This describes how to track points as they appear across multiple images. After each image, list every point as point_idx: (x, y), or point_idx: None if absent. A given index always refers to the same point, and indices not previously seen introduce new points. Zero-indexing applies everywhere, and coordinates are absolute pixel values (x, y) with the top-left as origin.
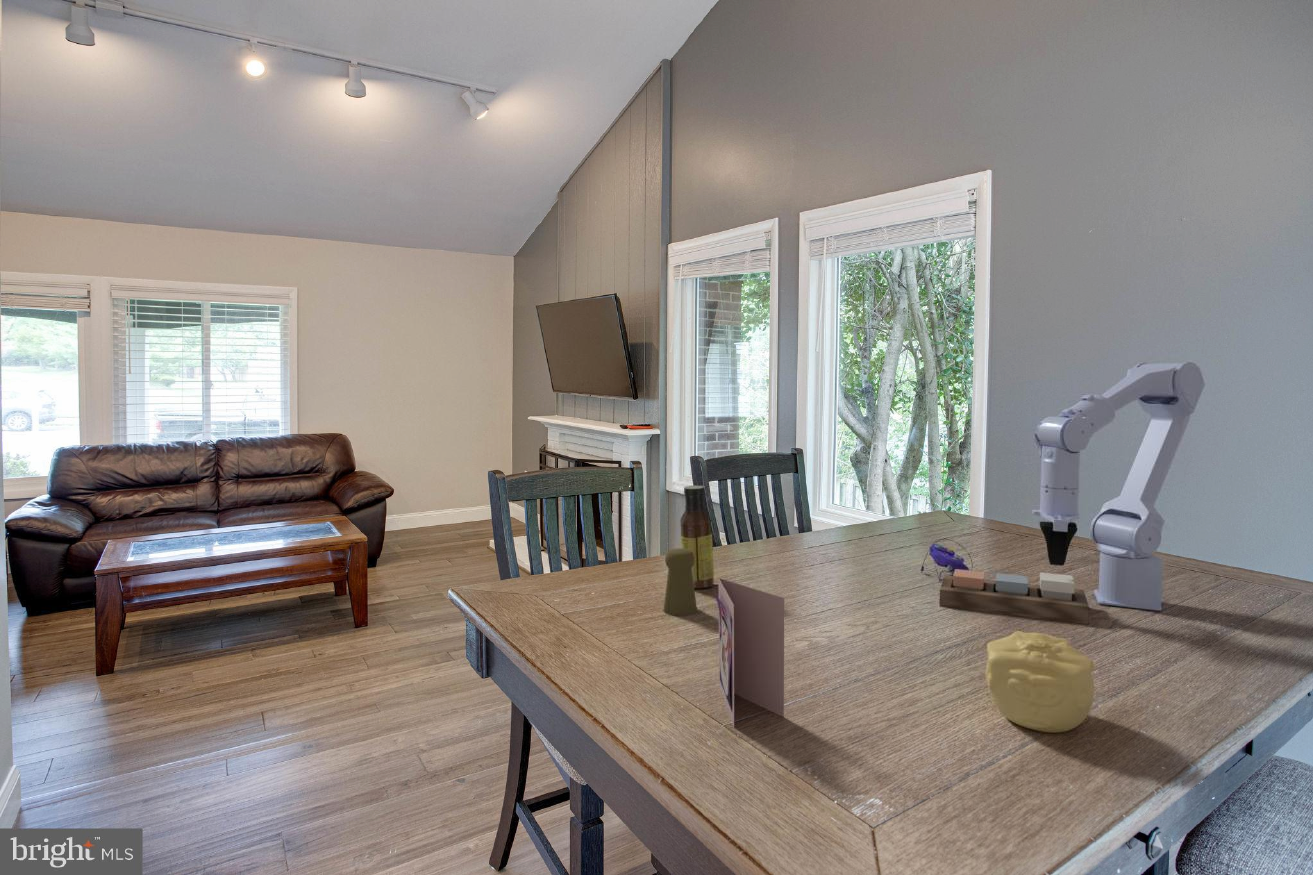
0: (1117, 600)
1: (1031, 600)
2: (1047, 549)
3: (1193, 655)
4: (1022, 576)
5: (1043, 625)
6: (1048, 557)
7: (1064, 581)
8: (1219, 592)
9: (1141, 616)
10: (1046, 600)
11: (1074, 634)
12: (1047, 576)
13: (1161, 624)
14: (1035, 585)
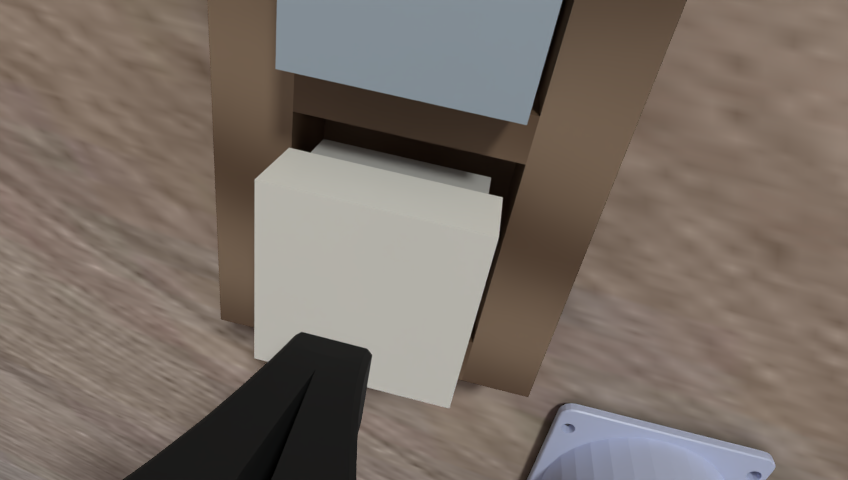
0: (555, 470)
1: (212, 50)
2: (190, 429)
3: (95, 430)
4: (515, 80)
5: (154, 66)
6: (269, 367)
7: (274, 319)
8: None
9: (435, 464)
10: (239, 146)
11: (97, 172)
12: (380, 255)
13: (359, 477)
14: (599, 174)
